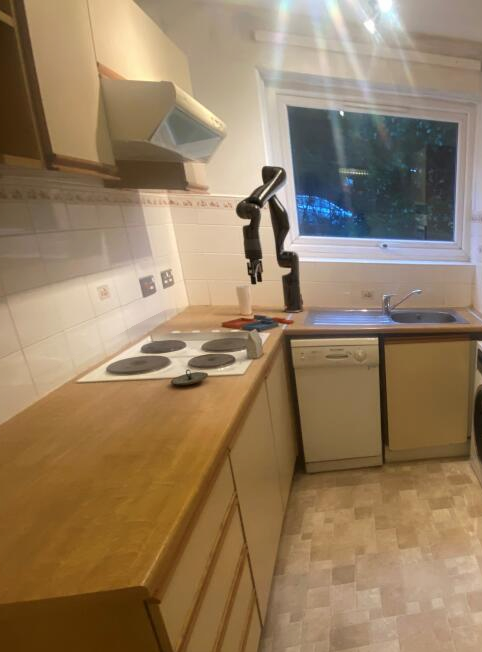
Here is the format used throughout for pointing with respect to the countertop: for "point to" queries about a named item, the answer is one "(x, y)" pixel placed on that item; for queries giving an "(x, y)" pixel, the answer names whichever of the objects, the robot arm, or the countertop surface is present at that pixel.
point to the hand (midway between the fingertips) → (256, 283)
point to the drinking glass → (244, 299)
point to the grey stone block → (254, 345)
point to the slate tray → (260, 325)
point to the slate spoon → (263, 318)
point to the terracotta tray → (238, 322)
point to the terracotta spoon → (282, 320)
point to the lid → (189, 378)
